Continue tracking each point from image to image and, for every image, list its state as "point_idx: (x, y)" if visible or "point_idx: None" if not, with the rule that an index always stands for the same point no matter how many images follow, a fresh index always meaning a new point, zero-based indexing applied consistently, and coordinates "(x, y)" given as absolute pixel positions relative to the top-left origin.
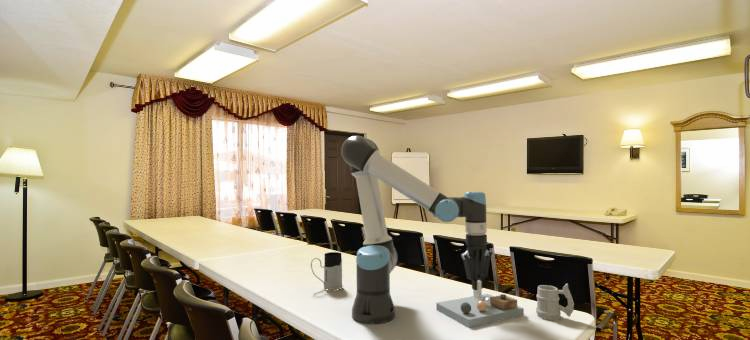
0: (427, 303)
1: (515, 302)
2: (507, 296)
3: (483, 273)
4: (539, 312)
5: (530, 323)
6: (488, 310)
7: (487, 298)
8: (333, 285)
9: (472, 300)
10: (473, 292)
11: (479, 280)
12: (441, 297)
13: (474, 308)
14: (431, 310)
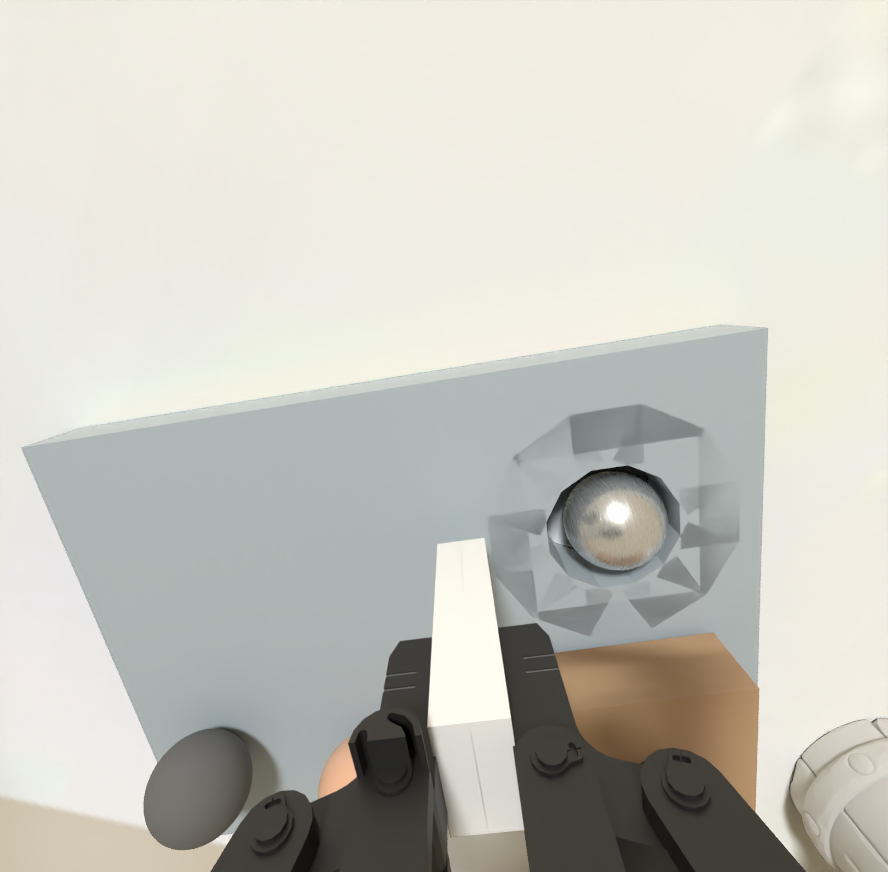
0: (25, 219)
1: None
2: (748, 744)
3: (752, 853)
4: (811, 822)
5: None
6: None
7: (604, 549)
8: None
9: (443, 494)
10: (435, 578)
11: (518, 796)
12: (252, 44)
13: (344, 680)
14: (29, 428)
